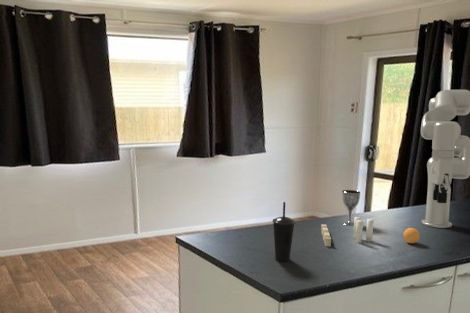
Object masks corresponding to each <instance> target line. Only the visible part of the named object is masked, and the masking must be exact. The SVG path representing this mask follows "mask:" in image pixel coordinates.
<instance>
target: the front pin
mask: <svg viewBox="0 0 470 313" xmlns="http://www.w3.org/2000/svg"><path fill="white" fill-rule="evenodd" d="M373 230H374V219H370V218H368V219H366V232H365V234H366V235H365V241H366V242H370V243H372V242H373V233H374V231H373Z"/></svg>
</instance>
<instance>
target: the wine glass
mask: <svg viewBox="0 0 470 313" xmlns="http://www.w3.org/2000/svg"><path fill="white" fill-rule="evenodd" d="M341 191H342V192H341V200H342V203H343V205H344V207H345V208H346V209H347V211H348V220H346V221H341V224H342V225H343V226H347V227H348V226H352V227H354V221H352V219H351V218H352V212H353V211H354V209H355V208H356V207H357V206H358V205H359V202H360V199H361V191H359V190H356V189H355V190H354V189H343V190H341Z"/></svg>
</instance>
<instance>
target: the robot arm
mask: <svg viewBox="0 0 470 313" xmlns="http://www.w3.org/2000/svg"><path fill="white" fill-rule="evenodd" d="M468 114H470V90H468V89H443V90H440V91H438V92H437V93H436V95H435V97H433V98H430V100H429V102H428V111H426V112H425V113H424V115H423V116H422V119H421V124H420V125H421V126H420V135H421V138H423V139H425V140H429V141H430V140H432V141H431V142H432V143H431V144H432V145H431V149H432V152H431V157H430V158H429V159H428V161H427V163H426V168H427V192H426V193H427V195H426V208H425V209H426V210H425V218H424V219H421V223H422V225H424V226H427V227H432V228H436V229H437V228H438V229H439V228H440V229H447V228H449V229H450V228H452V227H453V223H452V222H450V221H449V217H450V205H451V203H450V202H451V194H452V192H451V191H452V189H451V188H452V187H451V184H452V179H459V180H464V179H468V178H469V177H470V137H469V136H467V135H461V133H462V127H461V126H460V123H458V122H457V121H452V120H453V119H454V118H455V117H456V116H467V115H468Z"/></svg>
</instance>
